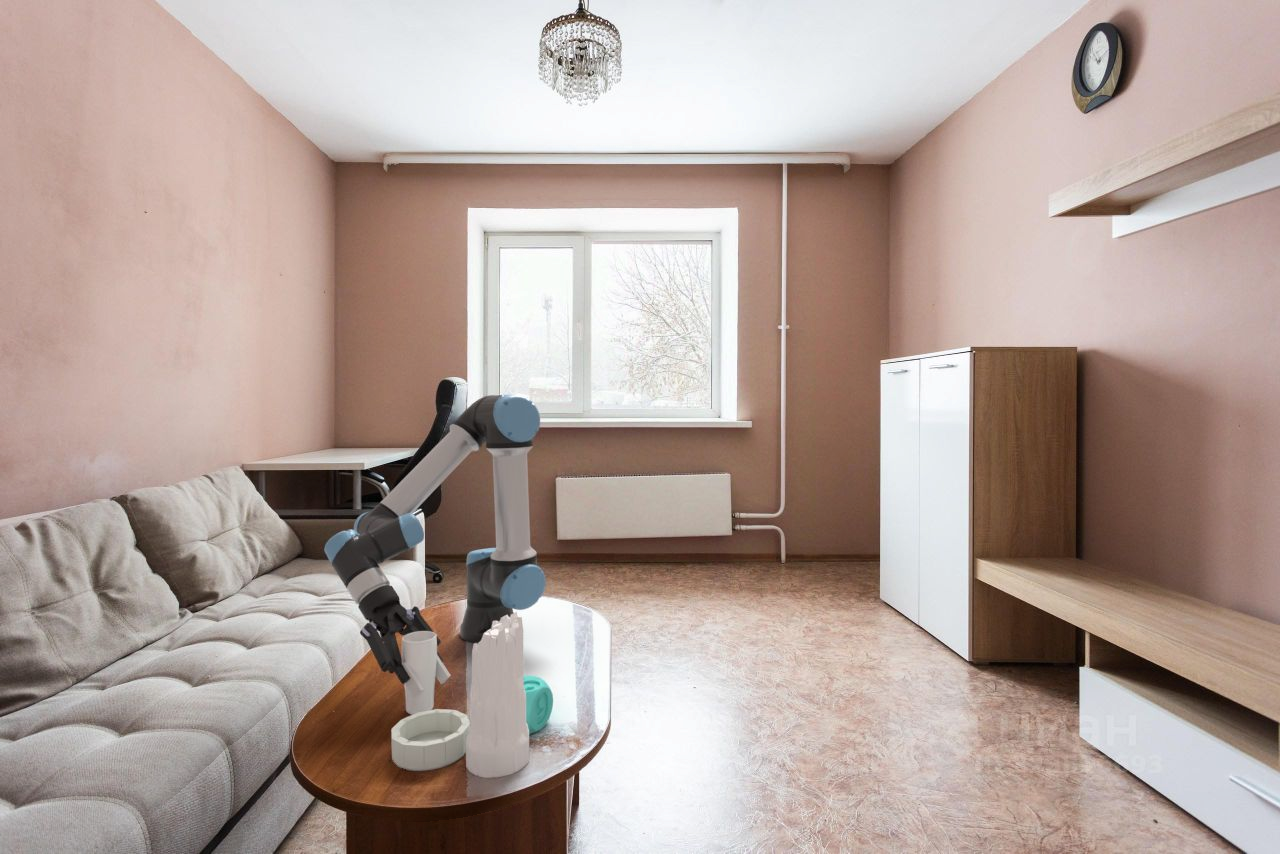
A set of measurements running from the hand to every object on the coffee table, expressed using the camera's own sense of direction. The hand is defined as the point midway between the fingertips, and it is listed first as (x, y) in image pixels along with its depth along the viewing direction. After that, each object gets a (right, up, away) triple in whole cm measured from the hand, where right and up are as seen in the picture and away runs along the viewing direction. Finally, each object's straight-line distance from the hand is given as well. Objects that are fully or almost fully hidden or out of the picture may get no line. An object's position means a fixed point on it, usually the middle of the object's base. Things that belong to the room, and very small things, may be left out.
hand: (432, 686), depth 126 cm
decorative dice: (+19, -6, -4) cm, 20 cm away
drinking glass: (-3, -6, +2) cm, 7 cm away
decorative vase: (+17, -6, -17) cm, 24 cm away
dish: (+4, -6, -14) cm, 15 cm away
